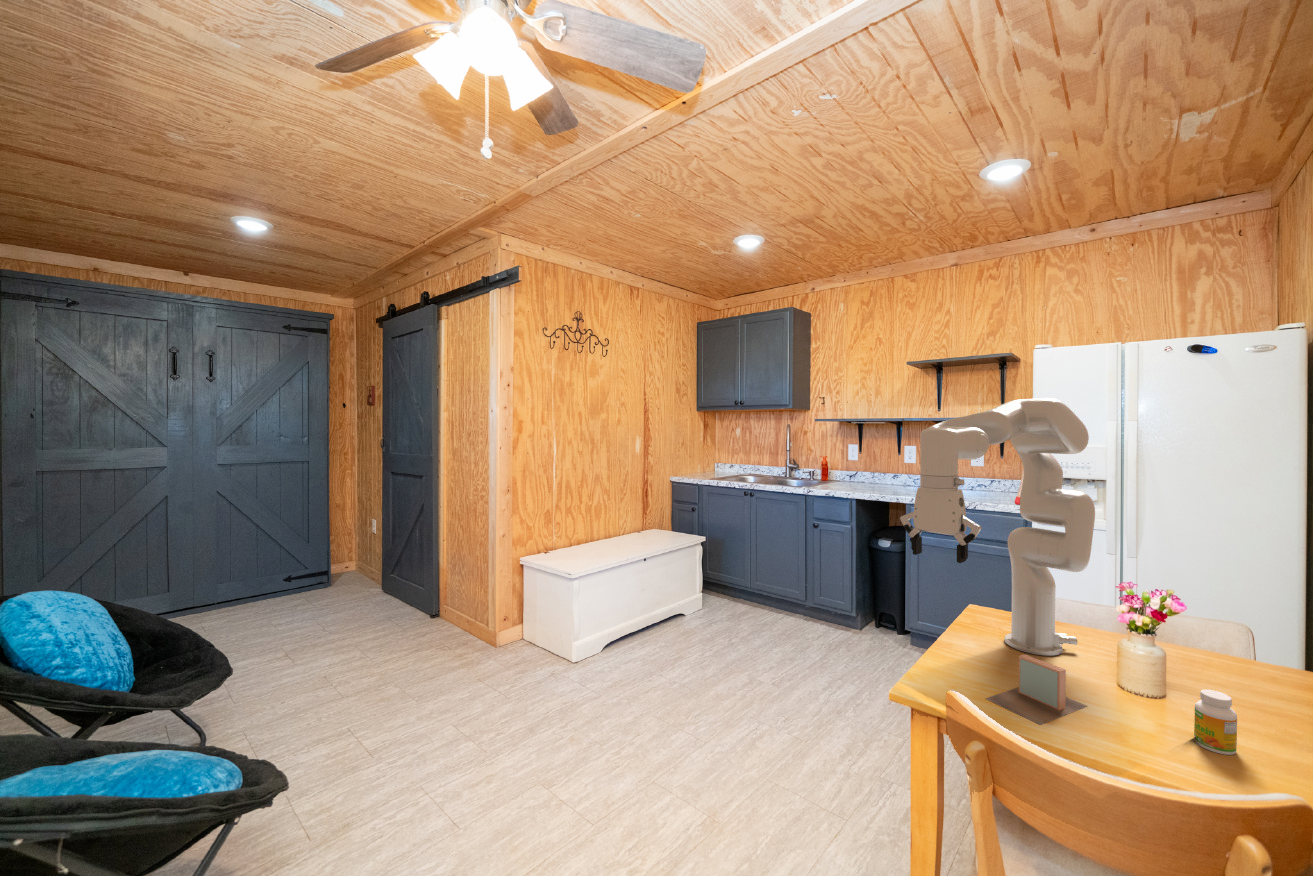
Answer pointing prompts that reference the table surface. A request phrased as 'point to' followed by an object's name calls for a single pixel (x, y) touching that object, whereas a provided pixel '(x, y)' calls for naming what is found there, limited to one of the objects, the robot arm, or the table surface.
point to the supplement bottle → (1215, 723)
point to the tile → (1042, 681)
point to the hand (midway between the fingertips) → (938, 557)
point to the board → (1033, 706)
